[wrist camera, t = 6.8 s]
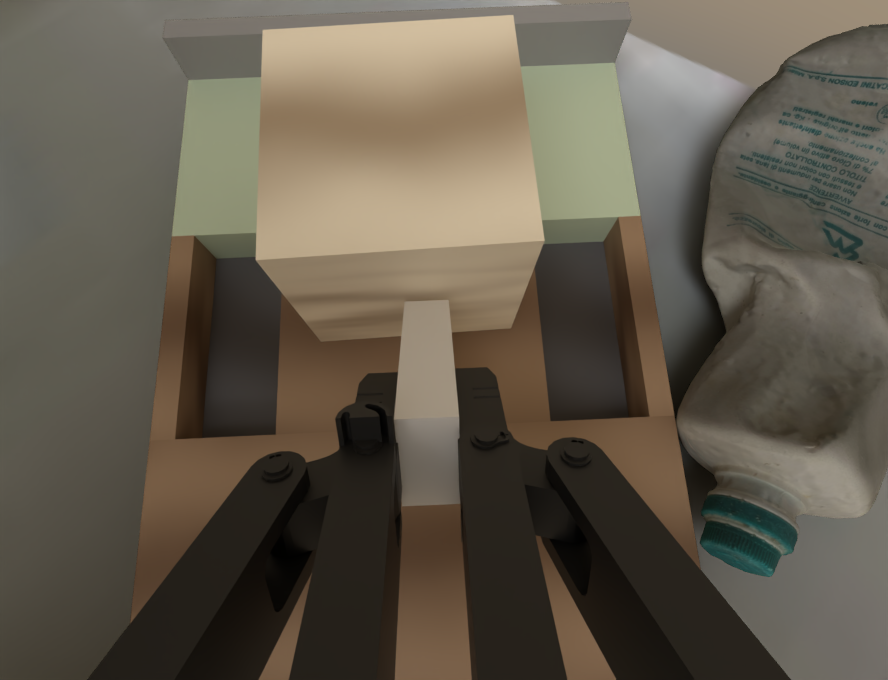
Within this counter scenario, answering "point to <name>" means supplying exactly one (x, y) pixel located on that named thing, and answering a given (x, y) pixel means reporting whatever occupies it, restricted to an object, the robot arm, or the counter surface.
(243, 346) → the box
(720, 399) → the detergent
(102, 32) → the counter surface
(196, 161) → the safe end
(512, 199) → the birch block
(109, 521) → the counter surface
